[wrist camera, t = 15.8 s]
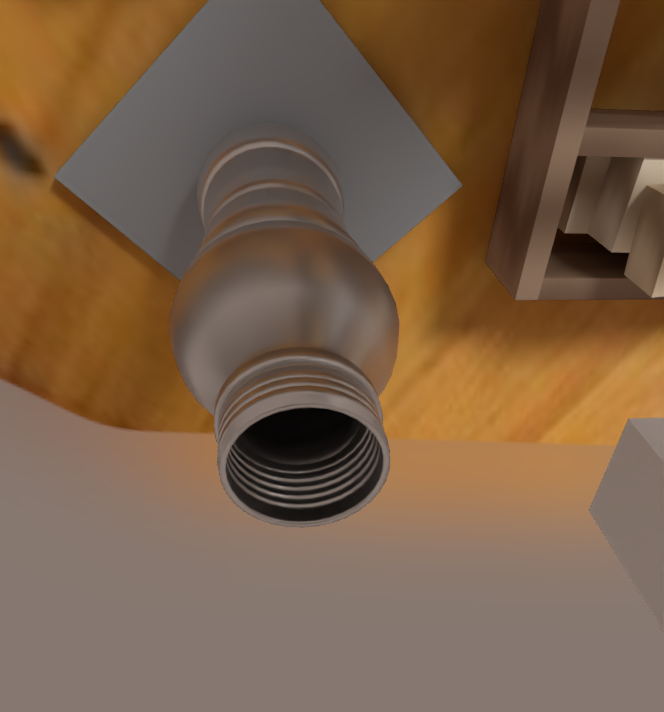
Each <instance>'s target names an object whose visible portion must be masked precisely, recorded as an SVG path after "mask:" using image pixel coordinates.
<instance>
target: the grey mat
mask: <svg viewBox="0 0 664 712" xmlns="http://www.w3.org/2000/svg"><path fill="white" fill-rule="evenodd" d="M256 123H276V124H281V125H286V126H289V127H291V128H294V129H296V130H298V131H301V132H302V133H304V134H306V135H307V136H309V137H310V138H312V139H313V140H315V141H316V142H317V143H318V144H319V145H320V146H321V147H322V148H323V149H324V150H325V151H326V152H327V153H328V154H329V156H330V157H331V159H332V160H333V162H334V163H335V164H336V167H337V169H338V171H339V174H340V176H341V179H342V184H343V189H344V200H345V216H344V226H345V227H346V229H347V231H348V233H349V234H350V236H351V238H352V239H353V240H354V241H355V242H356V243H357V244H358V246H359V247H360V248H361V249H362V250H363V251H364V252H365V254H366V255H367V256H368V257H369V258H370V259H371V261H372V262H374V261H375V260H376V259H377V258H379V257H380V256H381V255H382V254H383V253H384V252H386V251H387V250H388V249H389V248H390V247H391V246H393V245H394V244H395V243H396V242H397V241H398V240H400V239H401V238H402V237H403V236H404V235H405V234H407V233H408V232H409V231H410V230H411V229H413V228H414V227H415V226H416V225H417V224H418V223H420V222H421V221H422V220H423V219H424V218H425V217H427V216H428V215H429V214H430V213H431V212H432V211H434V210H435V209H436V208H437V207H438V206H439V205H441V204H442V203H443V202H444V201H445V200H447V199H448V198H449V197H450V196H451V195H452V194H454V193H455V192H456V191H457V190H458V189H459V188H461V187H462V186H463V185H462V184H461V182H460V181H459V180H458V178H457V177H456V176H455V175H454V173H453V172H452V171H451V169H450V168H449V167H448V165H447V164H446V163H445V162H444V160H443V159H442V158H441V156H440V155H439V154H438V153H437V151H436V150H435V149H434V147H433V146H432V145H431V144H430V142H429V141H428V140H427V138H426V137H425V136H424V134H423V133H422V132H421V131H420V129H419V128H418V127H417V125H416V124H415V123H414V122H413V120H412V119H411V118H410V116H409V115H408V114H407V112H406V111H405V110H404V109H403V107H402V106H401V105H400V103H399V102H398V101H397V100H396V98H395V97H394V96H393V94H392V93H391V92H390V90H389V89H388V88H387V87H386V85H385V84H384V83H383V81H382V80H381V79H380V78H379V76H378V75H377V74H376V72H375V71H374V70H373V69H372V67H371V66H370V65H369V63H368V62H367V61H366V59H365V58H364V57H363V56H362V54H361V53H360V52H359V50H358V49H357V48H356V47H355V45H354V44H353V43H352V41H351V40H350V39H349V37H348V36H347V35H346V34H345V32H344V31H343V30H342V28H341V27H340V26H339V25H338V23H337V22H336V21H335V19H334V18H333V17H332V15H331V14H330V13H329V12H328V10H327V9H326V8H325V6H324V5H323V4H322V3H321V1H320V0H208V2H207V3H206V4H205V5H204V6H203V7H202V8H201V10H200V11H199V12H198V13H197V14H196V15H195V16H194V18H193V19H192V20H191V21H190V22H189V23H188V24H187V25H186V27H185V28H184V29H183V30H182V31H181V32H180V33H179V35H178V36H177V37H176V38H175V39H174V40H173V41H172V43H171V44H170V45H169V46H168V47H167V48H166V49H165V51H164V52H163V53H162V54H161V55H160V56H159V57H158V58H157V60H156V61H155V62H154V63H153V64H152V65H151V66H150V68H149V69H148V70H147V71H146V72H145V73H144V74H143V76H142V77H141V78H140V79H139V80H138V81H137V82H136V83H135V85H134V86H133V87H132V88H131V89H130V90H129V91H128V93H127V94H126V95H125V96H124V97H123V98H122V99H121V101H120V102H119V103H118V104H117V105H116V106H115V107H114V108H113V110H112V111H111V112H110V113H109V114H108V115H107V116H106V118H105V119H104V120H103V121H102V122H101V123H100V124H99V126H98V127H97V128H96V129H95V130H94V131H93V132H92V133H91V135H90V136H89V137H88V138H87V139H86V140H85V141H84V143H83V144H82V145H81V146H80V147H79V148H78V149H77V151H76V152H75V153H74V154H73V155H72V156H71V157H70V159H69V160H68V161H67V162H66V163H65V164H64V165H63V166H62V168H61V169H60V170H59V171H58V172H57V173H56V174H55V176H54V178H56V179H57V180H58V181H59V182H61V183H62V184H63V185H64V186H65V187H67V188H68V189H69V190H70V191H71V192H73V193H74V194H75V195H76V196H78V197H79V198H80V199H81V200H82V201H84V202H85V203H86V204H87V205H89V206H90V207H91V208H92V209H93V210H95V211H96V212H97V213H98V214H100V215H101V216H102V217H103V218H104V219H106V220H107V221H108V222H109V223H111V224H112V225H113V226H114V227H115V228H117V229H118V230H119V231H120V232H122V233H123V234H124V235H125V236H126V237H128V238H129V239H130V240H131V241H133V242H134V243H135V244H136V245H137V246H139V247H140V248H141V249H142V250H143V251H145V252H146V253H147V254H148V255H150V256H151V257H152V258H153V259H154V260H156V261H157V262H158V263H159V264H161V265H162V266H163V267H164V268H165V269H167V270H168V271H169V272H170V273H172V274H173V275H174V276H175V277H176V278H178V279H179V280H180V281H181V279H182V277H183V275H184V273H185V272H186V270H187V268H188V267H189V265H190V263H191V262H192V260H193V259H194V257H195V255H196V254H197V252H198V250H199V249H200V247H201V245H202V241H203V238H204V235H205V232H204V226H203V223H202V221H201V217H200V212H199V206H198V199H197V184H198V177H199V174H200V170H201V167H202V165H203V163H204V161H205V159H206V157H207V155H208V154H209V152H210V151H211V150H212V149H213V148H214V147H215V145H216V144H217V143H218V142H219V141H221V140H222V139H223V138H225V137H226V136H228V135H229V134H230V133H232V132H233V131H235V130H237V129H240V128H242V127H244V126H247V125H251V124H256Z"/></svg>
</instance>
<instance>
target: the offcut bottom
mask: <svg viewBox="0 0 664 712" xmlns="http://www.w3.org/2000/svg"><path fill="white" fill-rule="evenodd" d="M610 161H611V157H604V156H577V159H576V163H575V166H574V170H573V174H572V177H571V181H570V185H569V188H568V192H567V195H566V199H565V203H564V206H563V210H562V213H561V217H560V221H559V224H558V228H559V229H560V230H561V231H563V232H564V233H582V234H588V233H587V232H588V229H589V226H590V223H591V220H592V217H593V214H594V210H595V207H596V204H597V201H598V198H599V195H600V192H601V189H602V185H603V182H604V179H605V176H606V173H607V170H608V167H609V164H610Z"/></svg>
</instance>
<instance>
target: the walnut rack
mask: <svg viewBox="0 0 664 712" xmlns="http://www.w3.org/2000/svg"><path fill="white" fill-rule="evenodd" d="M619 4H620V0H542V2H541V7H540V11H539V16H538V21H537V25H536V30H535V34H534V39H533V44H532V48H531V53H530V58H529V62H528V67H527V72H526V76H525V81H524V86H523V90H522V95H521V100H520V104H519V109H518V113H517V118H516V123H515V127H514V132H513V137H512V141H511V146H510V151H509V155H508V160H507V165H506V169H505V174H504V178H503V183H502V188H501V192H500V197H499V202H498V206H497V211H496V216H495V220H494V225H493V230H492V234H491V239H490V244H489V248H488V253H487V257H486V262H485V263H486V264H487V266H488V267H489V268H490V269H491V271H492V272H493V273H494V274H495V276H496V277H497V278H498V279H499V281H500V282H501V283H502V284H503V286H504V287H505V288H506V289H507V291H508V292H509V293H510V294H511V296H512V297H513V298H514V299H515V300H622V299H664V297H654V298H651V297H650V296H649V295H648V294H647V293H645V292H644V291H643V290H642V289H641V288H639V287H638V286H637V285H636V284H635V283H633V282H632V281H631V280H630V279H629V278H627V277H626V276H625V275H624V272H625V268H626V264H627V260H628V257H629V253H622V252H610V251H609V250H608V249H607V248H605V247H604V246H603V245H602V244H553V242H554V239H555V235H556V231H557V228H558V224H559V221H560V217H561V213H562V210H563V206H564V203H565V199H566V195H567V192H568V188H569V185H570V181H571V177H572V174H573V170H574V166H575V163H576V159H577V156H604V157H638V158H664V111H641V110H617V109H592V108H591V105H592V101H593V98H594V94H595V91H596V87H597V83H598V80H599V76H600V73H601V69H602V65H603V62H604V58H605V55H606V51H607V47H608V44H609V40H610V36H611V33H612V29H613V26H614V22H615V18H616V15H617V11H618V8H619Z"/></svg>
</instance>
